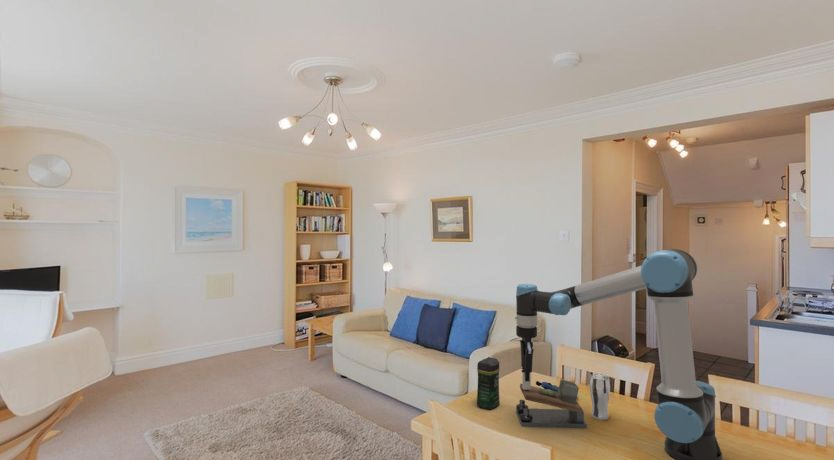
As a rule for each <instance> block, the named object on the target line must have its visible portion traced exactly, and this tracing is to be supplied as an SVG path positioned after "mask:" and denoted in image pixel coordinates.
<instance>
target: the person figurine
mask: <svg viewBox="0 0 834 460" xmlns="http://www.w3.org/2000/svg"><path fill="white" fill-rule="evenodd" d="M535 385H536V387H540V388H542V389H546V390H551V391H555V392H558V389H559V386H557V385H555V384H553V385H552V383H551V382H547V381H542V382H540V381H539V380H536V381H535ZM579 396H580V395H579V394H578V395H577V399H578V398H579Z"/></svg>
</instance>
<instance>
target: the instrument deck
mask: <svg viewBox="0 0 834 460" xmlns="http://www.w3.org/2000/svg"><path fill="white" fill-rule="evenodd" d="M558 387H559V389H558V392H555V391H552V390H546V389H544V388H543V387H539V386H534V385H531V390H525V389H523V388H522V383H520V385H519V389H520V390H521V393H522V395H523V397H524V400H525V401H529V402H534V403H538V404H541V405H542V404H543V405H546V406H550V407H555V408H558V409H559V408H560V409H567V410H572V411H576V412H580V413H581V412H582V410H583V408H582V406H581V405H580V404H579V402H578V401H577V399H578V398H577V395H579V390H580V387H579V386H578V385H577V384H576V383H575V382H574V381H571V380H565V379H562V378H561V379H560V381H559V385H558Z"/></svg>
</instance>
